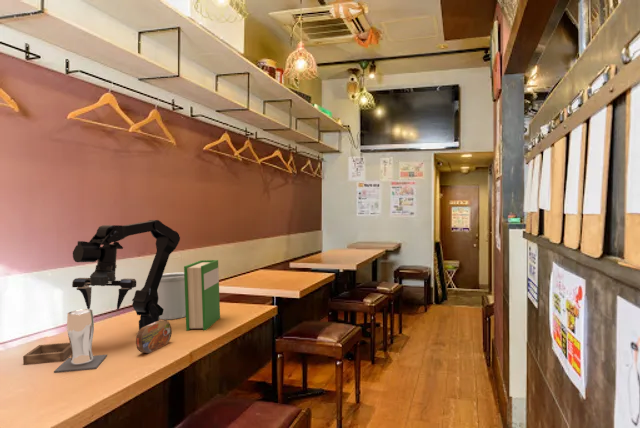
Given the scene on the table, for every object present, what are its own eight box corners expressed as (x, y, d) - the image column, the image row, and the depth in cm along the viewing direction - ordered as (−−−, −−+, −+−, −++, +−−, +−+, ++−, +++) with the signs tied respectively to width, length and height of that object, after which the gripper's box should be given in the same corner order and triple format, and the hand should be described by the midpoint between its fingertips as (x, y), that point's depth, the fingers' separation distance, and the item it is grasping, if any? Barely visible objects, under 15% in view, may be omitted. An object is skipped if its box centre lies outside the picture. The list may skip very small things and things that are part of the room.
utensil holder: (146, 318, 180) (144, 277, 179) (171, 310, 193) (170, 271, 193) (174, 321, 174) (172, 278, 174) (198, 312, 188) (196, 272, 187)
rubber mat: (107, 356, 135) (107, 354, 135) (96, 368, 124) (96, 367, 124) (68, 359, 132) (68, 357, 132) (54, 372, 122) (53, 371, 122)
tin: (142, 356, 133) (141, 329, 133) (134, 356, 134) (133, 329, 134) (173, 341, 147) (172, 317, 147) (165, 341, 148) (164, 317, 148)
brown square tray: (76, 349, 142) (76, 341, 142) (63, 360, 131) (63, 352, 131) (39, 352, 140) (39, 344, 140) (23, 364, 129) (23, 356, 129)
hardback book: (205, 330, 160) (203, 266, 159) (186, 330, 160) (183, 266, 160) (220, 318, 177) (218, 260, 177) (202, 318, 178) (200, 260, 178)
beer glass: (92, 364, 126) (90, 313, 126) (65, 367, 124) (63, 315, 124) (97, 356, 133) (95, 308, 132) (72, 359, 131) (70, 310, 131)
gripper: (67, 262, 136) (63, 312, 135) (129, 263, 139) (126, 312, 138) (80, 261, 147) (76, 307, 146) (138, 262, 150) (135, 307, 149)
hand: (103, 308), depth 144 cm, fingers open, 9 cm apart
